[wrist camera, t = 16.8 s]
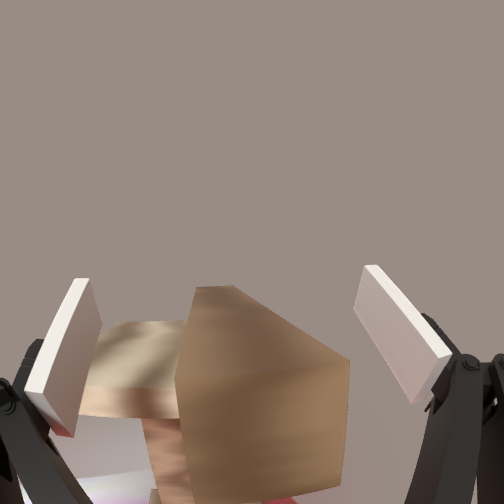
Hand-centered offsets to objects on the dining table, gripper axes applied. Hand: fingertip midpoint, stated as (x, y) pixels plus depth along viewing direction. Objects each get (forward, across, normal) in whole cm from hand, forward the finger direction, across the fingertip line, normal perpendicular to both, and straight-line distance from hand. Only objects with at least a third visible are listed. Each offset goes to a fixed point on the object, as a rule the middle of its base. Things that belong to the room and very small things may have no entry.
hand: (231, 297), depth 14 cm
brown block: (+3, 0, -7) cm, 8 cm away
